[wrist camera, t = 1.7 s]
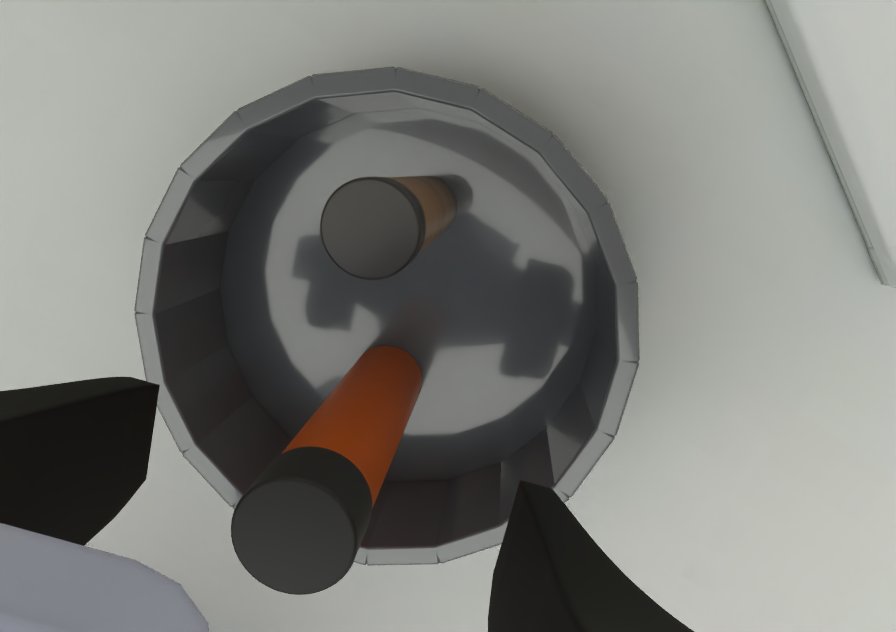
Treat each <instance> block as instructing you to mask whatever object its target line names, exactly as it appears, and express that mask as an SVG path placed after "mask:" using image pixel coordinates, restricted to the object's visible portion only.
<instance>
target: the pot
mask: <svg viewBox="0 0 896 632" xmlns="http://www.w3.org/2000/svg"><path fill="white" fill-rule="evenodd" d="M374 176H376V177H407V176H433V177H436V178H439V179H441V180H442V181H444V182H445V183H446V184H448V186H449V187H450V188H451V189H452V191H453V193H454V195H455V198H456V203H457V210H456V215H455V218H454V220H453V222H452V224H451V225H450V226H449V227H448V228H447V229H446V230H445V231H444V232H443V233H442V234H441V235H440V236H438V237H437V238H436V239H435V240H434V241H433V242H432V243H430V244H429V245H428V246H427V247H426V248H425V249H424V250H423V251H421V252H420V253H419V254H418V255H417V256H416V257H415V259H414V260H413V261H412V262H411V263H410V264H408V265H407V266H406V267H405V268H404V269H403V270H401V271H400V272H399V273H397V274H395V275H393V276H391V277H388V278H385V279H380V280H365V279H360V278H357V277H354V276H352V275H349V274H347V273H346V272H344V271H343V270H341V269H340V268H339V267H338V266H337V265H336V264H335V263H334V262H333V261H332V260H331V258H330V257H329V256H328V254H327V252H326V250H325V248H324V245H323V243H322V239H321V233H320V221H321V215H322V211H323V208H324V206H325V204H326V202H327V200H328V198H329V197H330V196H331V195H332V193H333V192H334V191H335V190H336V189H337V188H339V187H340V186H341V185H343V184H344V183H346V182H348V181H350V180H353V179H356V178H360V177H374ZM145 236H146V237H145V238H144V243H143V251H142V258H141V266H140V273H139V280H138V288H137V295H136V303H135V319H136V325H137V331H138V336H139V342H140V348H141V353H142V359H143V365H144V371H145V376H146V381H147V382H151V383H154V384H158V385H160V387H159V393H158V400H157V407H158V409H159V411H160V413H161V415H162V417H163V419H164V421H165V423H166V425H167V427H168V428H169V430H170V432H171V434H172V436H173V438H174V440H175V442H176V444H177V446H178V448H179V450H180V452H183V453H182V455H183V456H184V457H185V458H186V459H187V460H188V461H189V463H190V464H191V465H192V466H193V467H194V468H195V469H196V470H197V471H198V472H199V473H200V474H201V475H202V476H203V478H204V479H205V480H206V481H207V482H208V483H209V484H210V485H211V486H212V487H213V488H214V489H215V490H216V491H217V493H218V494H219V495H220V496H221V497H222V498H223V499H224V500H225V501H226V502H227V503H228V504H229V505H230V506H231V507H233V509H235V508H236V506H237V504H238V502H239V501H240V499H241V498H242V496H243V495H244V494H245V493H246V492H247V490H248V489H249V488H250V487H251V485H252V484H253V483H254V482H255V481H256V479H257V478H258V477H259V476H260V475H261V473H262V472H263V471H264V470H265V469H266V467H267V466H268V465H269V464H270V463H271V462H272V461H273V460H274V459H275V458H276V457H278V456H279V455H281V453H282V452H283V451H284V450H285V449H286V447H287V446H288V445H289V444H290V442H291V441H292V440H293V439H294V438H295V436H296V435H297V434H298V433H299V431H300V430H301V429H302V428H303V427H304V425H305V424H306V423H307V422H308V420H309V419H310V418H311V417H312V415H313V414H314V413H315V412H316V411H317V409H318V408H319V407H320V406H321V404H322V403H323V402H324V401H325V400H326V398H327V397H328V396H329V395H330V393H331V392H332V391H333V390H334V389H335V387H336V386H337V385H338V384H339V382H340V381H341V380H342V379H343V378H344V376H345V375H346V374H347V373H348V371H349V370H350V369H351V368H352V366H353V365H354V364H355V363H356V362H357V360H358V359H359V358H360V357H361V356H362V355H363V354H364V353H365V352H367V351H368V350H370V349H372V348H375V347H379V346H393V347H397V348H399V349H402V350H404V351H405V352H407V353H408V354H409V355H411V356H412V358H413V359H414V360H415V361H416V363H417V364H418V366H419V368H420V371H421V375H422V387H421V391H420V394H419V396H418V399H417V401H416V404H415V406H414V409H413V411H412V413H411V416H410V418H409V421H408V423H407V426H406V428H405V430H404V433H403V435H402V438H401V440H400V442H399V445H398V447H397V450H396V452H395V455H394V457H393V459H392V462H391V464H390V467H389V469H388V472H387V474H386V476H385V479H384V481H383V484H382V486H381V489H380V491H379V493H378V496H377V498H376V501H375V503H374V506H373V508H372V515H371V519H370V522H369V525H368V527H367V530H366V532H365V535H364V537H363V540H362V542H361V545H360V547H359V550H358V552H357V555H356V557H355V560H354V562H356V563H359V564H363V565H366V564H367V565H412V564H439V562H440V563H444V562H447V561H450V560H454V559H457V558H460V557H463V556H466V555H469V554H472V553H475V552H478V551H481V550H485V549H488V548H491V547H494V546H497V545H500V544H502V541H503V538H504V534H505V531H506V527H507V524H508V521H509V517H510V514H511V510H512V507H513V503H514V500H515V496H516V493H517V489H518V486H519V482H520V480H522V481H526V482H529V483H533V484H537V485H541V486H544V487H548V488H552V489H553V490H554V491H555V493H556V494H557V495H558V496H559V497H560V499H561V500H562V501H563V502H566V501H567V500H569V498H570V497H572V496H573V494H574V493H575V491H576V490H577V489H578V487H579V486H580V485H581V483H582V482H583V481H584V479H585V478H586V477H587V475H588V474H589V472H590V471H591V470H592V468H593V467H594V466H595V464H596V463H597V462H598V460H599V459H600V458H601V456H602V455H603V453H604V452H605V451H606V449H607V448H608V447H609V445H610V444H611V443H612V441H613V440H614V438H615V436H616V435H617V432H618V428H619V425H620V422H621V419H622V416H623V413H624V410H625V407H626V403H627V400H628V397H629V394H630V391H631V388H632V385H633V381H634V378H635V375H636V372H637V369H638V366H639V362H638V361H639V359H640V356H639V309H638V283H637V277H636V274H635V271H634V269H633V266H632V263H631V260H630V258H629V255H628V252H627V250H626V247H625V244H624V241H623V239H622V236H621V233H620V230H619V228H618V225H617V222H616V219H615V217H614V214H613V211H612V208H611V206H610V204H609V203H608V201H607V198H606V197H605V196H604V195H603V193H602V192H601V191H600V190H599V188H598V187H597V186H596V185H595V184H594V182H593V181H592V180H591V179H590V177H589V176H588V175H587V174H586V172H585V171H584V170H583V169H582V167H581V166H580V165H579V164H578V162H577V161H576V160H575V159H574V157H573V156H572V155H571V154H570V152H569V151H568V150H567V149H566V147H565V146H564V145H563V144H562V142H561V141H560V140H559V139H558V138H557V136H555V135H553V133H552V132H551V131H549V130H548V129H546V128H545V127H543V126H541V125H540V124H538V123H537V122H535V121H534V120H532V119H530V118H529V117H527V116H526V115H524V114H523V113H521V112H519V111H518V110H516V109H515V108H513V107H512V106H510V105H508V104H507V103H505V102H504V101H502V100H500V99H499V98H497V97H496V96H494V95H493V94H491V93H489V92H488V91H486V90H485V89H483V88H479V87H478V86H475V85H471V84H467V83H463V82H459V81H454V80H450V79H446V78H442V77H438V76H434V75H430V74H425V73H421V72H417V71H413V70H409V69H405V68H401V67H397V68H395V67H384V68H374V69H364V70H353V71H343V72H333V73H323V74H313V75H312V76H307V77H305V78H303V79H301V80H299V81H297V82H294V83H292V84H290V85H288V86H286V87H284V88H282V89H279V90H277V91H275V92H273V93H271V94H269V95H267V96H264V97H262V98H260V99H258V100H256V101H254V102H252V103H250V104H247V105H245V106H243V107H241V108H239V109H238V110H237V111H235V112H233V113H232V114H231V115H230V116H229V117H228V118H227V119H226V120H225V121H224V122H223V123H222V124H221V125H220V126H219V127H218V128H217V129H216V130H215V131H214V132H213V133H212V134H211V135H210V136H209V137H208V138H207V139H206V140H205V141H204V142H203V143H202V144H201V145H200V146H199V147H198V148H197V149H196V150H195V151H194V152H193V153H192V154H191V155H190V156H189V157H188V158H187V159H186V160H185V161H184V162H183V163H182V164H181V165H180V167H179V168H178V169H177V171H176V173H175V175H174V177H173V179H172V181H171V184H170V186H169V188H168V190H167V192H166V194H165V196H164V198H163V200H162V202H161V204H160V206H159V208H158V210H157V212H156V214H155V216H154V218H153V220H152V222H151V224H150V226H149V228H148V230H147V232H146V235H145Z"/></svg>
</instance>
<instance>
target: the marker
mask: <svg viewBox="0 0 896 632" xmlns="http://www.w3.org/2000/svg"><path fill="white" fill-rule="evenodd" d="M421 387H422V375H421V371H420V368H419V366H418V364H417V363H416V361H415V360H414V359H413V358H412V356H411V355H409V354H408V353H407V352H405V351H404V350H402V349H399V348H397V347H393V346H379V347H375V348H372V349H370V350H368V351H367V352H365V353H364V354H363V355H362V356H361V357H360V358H359V359H358V360H357V362H356V363H355V364H354V365H353V366H352V368H351V369H350V370H349V371H348V373H347V374H346V375H345V376H344V378H343V379H342V380H341V381H340V382H339V384H338V385H337V386H336V387H335V389H334V390H333V391H332V392H331V393H330V395H329V396H328V397H327V398H326V400H325V401H324V402H323V403H322V404H321V406H320V407H319V408H318V409H317V411H316V412H315V413H314V414H313V415H312V417H311V418H310V419H309V420H308V422H307V423H306V424H305V425H304V427H303V428H302V429H301V430H300V431H299V433H298V434H297V435H296V436H295V438H294V439H293V440H292V441H291V442H290V444H289V445H288V446H287V447H286V449H285V450H284V451H283V452H282V453H281V455H279V456H278V457H276V458H275V459H274V460H273V461H272V462H271V463H270V464H269V465H268V466H267V467H266V469H265V470H264V471H263V472H262V473H261V475H260V476H259V477H258V478H257V479H256V481H255V482H254V483H253V484H252V485H251V487H250V488H249V489H248V490H247V492H246V493H245V494H244V495H243V496H242V498H241V499H240V501H239V502H238V504H237V506H236V508H235V510H234V513H233V517H232V524H231V537H232V542H233V546H234V549H235V552H236V554H237V556H238V558H239V560H240V562H241V563H242V565H243V566H244V567H245V569H246V570H247V571H248V572H249V573H250V574H251V575H252V576H253V577H254V578H255V579H257V580H258V581H259V582H261V583H262V584H264V585H266V586H268V587H270V588H272V589H274V590H277V591H280V592H283V593H288V594H297V595H301V594H311V593H316V592H319V591H322V590H325V589H327V588H329V587H331V586H332V585H334V584H336V583H337V582H338V581H339V580H341V579H342V578H343V577H344V576H345V574H346V573H347V572H348V571H349V569H350V568H351V566H352V564H353V562H354V560H355V557H356V555H357V552H358V550H359V547H360V545H361V542H362V540H363V537H364V535H365V532H366V530H367V527H368V525H369V522H370V519H371V515H372V508H373V506H374V503H375V501H376V498H377V496H378V493H379V491H380V489H381V486H382V484H383V481H384V479H385V476H386V474H387V472H388V469H389V467H390V464H391V462H392V459H393V457H394V455H395V452H396V450H397V447H398V445H399V442H400V440H401V438H402V435H403V433H404V430H405V428H406V426H407V423H408V421H409V418H410V416H411V413H412V411H413V409H414V406H415V404H416V401H417V399H418V396H419V394H420V391H421Z"/></svg>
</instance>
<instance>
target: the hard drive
mask: <svg viewBox="0 0 896 632" xmlns="http://www.w3.org/2000/svg"><path fill="white" fill-rule="evenodd" d="M765 1H766V4H767V6H768V9H769V11H770V14H771V16H772V18H773V21H774V23H775V26H776V28H777V31H778V33H779V36H780V38H781V40H782V43H783V45H784V47H785V50H786V52H787V54H788V57H789V59H790V61H791V64H792V66H793V69H794V71H795V74H796V77H797V79H798V81H799V83H800V86H801V89H802V91H803V93H804V96H805V98H806V101H807V103H808V105H809V108H810V110H811V112H812V115H813V117H814V119H815V122H816V125H817V127H818V129H819V132H820V134H821V137H822V139H823V141H824V144H825V146H826V149H827V151H828V153H829V156H830V159H831V161H832V163H833V166H834V168H835V170H836V173H837V175H838V177H839V179H840V182H841V185H842V187H843V190H844V192H845V195H846V197H847V199H848V202H849V204H850V206H851V209H852V211H853V214H854V216H855V219H856V221H857V223H858V226H859V228H860V231H861V233H862V236H863V238H864V240H865V243H866V245H867V248H868V252H869V255H870V257H871V259H872V262H873V264H874V266H875V268H876V271H877V273H878V276H879V279H880V281H881V284H883V285H888V286H891V287H893V288H896V0H765Z"/></svg>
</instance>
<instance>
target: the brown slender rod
mask: <svg viewBox="0 0 896 632" xmlns="http://www.w3.org/2000/svg"><path fill="white" fill-rule="evenodd" d="M456 210H457V203H456V198H455V195H454V193H453V191H452V189H451V188H450V187H449V186H448V184H446V183H445V182H444V181H442V180H441V179H439V178H436V177H433V176H407V177H376V176H374V177H360V178H356V179H353V180H350V181H348V182H346V183H344V184H343V185H341V186H340V187H339V188H337V189H336V190H335V191H334V192H333V193H332V195H331V196H330V197H329V198H328V200H327V202H326V204H325V206H324V208H323V211H322V215H321V221H320V233H321V239H322V243H323V245H324V248H325V250H326V252H327V254H328V256H329V257H330V258H331V260H332V261H333V262H334V263H335V264H336V265H337V266H338V267H339V268H340V269H341V270H343V271H344V272H346V273H347V274H349V275H352V276H354V277H357V278H360V279H365V280H380V279H385V278H388V277H391V276H393V275H395V274H397V273H399V272H400V271H401V270H403V269H404V268H405V267H406V266H407V265H408V264H410V263H411V262H412V261H413V260H414V259H415V257H416V256H417V255H418V254H419V253H420V252H421V251H423V250H424V249H425V248H426V247H427V246H428V245H429V244H430V243H432V242H433V241H434V240H435V239H436V238H437V237H438V236H440V235H441V234H442V233H443V232H444V231H445V230H446V229H447V228H448V227H449V226H450V225H451V224H452V222H453V220H454V218H455V215H456Z"/></svg>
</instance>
